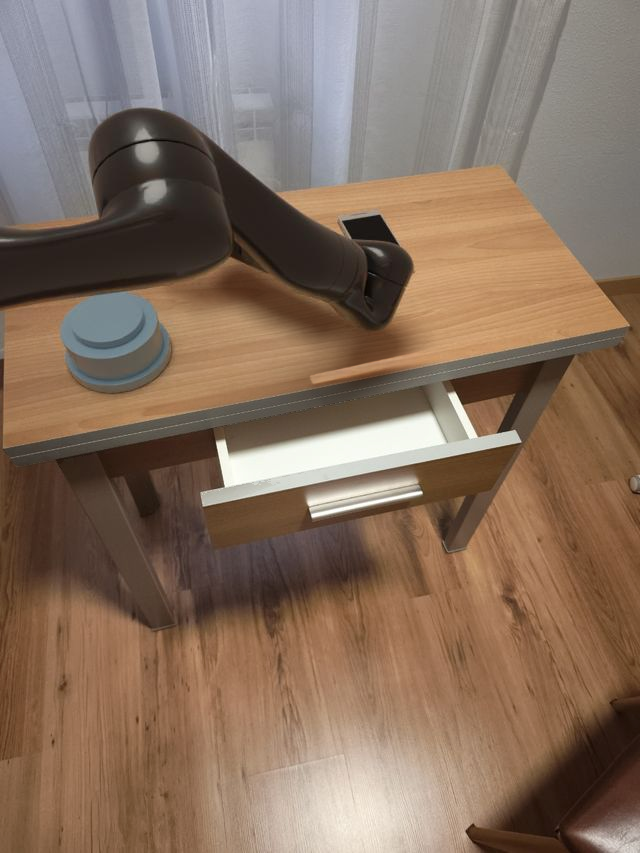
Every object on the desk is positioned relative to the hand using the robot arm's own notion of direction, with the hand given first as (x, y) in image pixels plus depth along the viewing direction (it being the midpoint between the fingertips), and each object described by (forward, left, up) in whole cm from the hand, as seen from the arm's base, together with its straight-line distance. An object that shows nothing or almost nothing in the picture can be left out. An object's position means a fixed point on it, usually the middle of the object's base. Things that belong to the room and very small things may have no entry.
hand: (166, 197), depth 77 cm
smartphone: (+29, -7, -10) cm, 32 cm away
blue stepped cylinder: (-12, -16, -10) cm, 23 cm away
